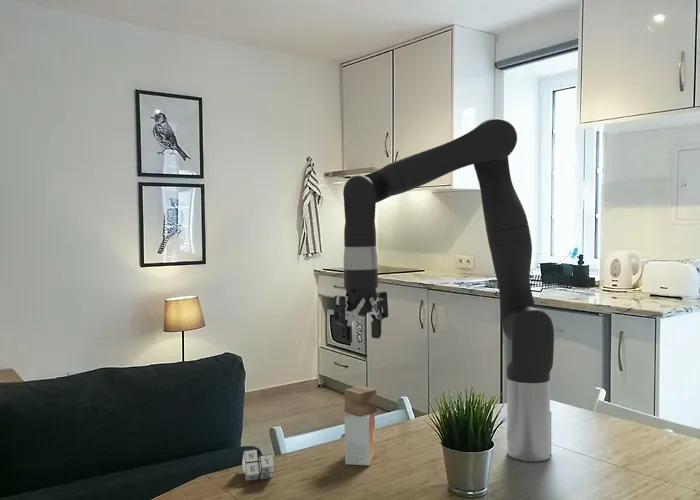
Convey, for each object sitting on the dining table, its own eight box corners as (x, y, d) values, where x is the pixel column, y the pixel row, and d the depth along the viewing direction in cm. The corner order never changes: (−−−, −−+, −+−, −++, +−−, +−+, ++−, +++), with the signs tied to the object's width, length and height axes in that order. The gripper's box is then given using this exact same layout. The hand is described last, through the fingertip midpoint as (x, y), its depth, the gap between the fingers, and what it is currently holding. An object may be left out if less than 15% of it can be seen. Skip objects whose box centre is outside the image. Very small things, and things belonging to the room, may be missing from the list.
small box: (370, 466, 130) (369, 418, 130) (344, 465, 131) (343, 416, 131) (376, 453, 138) (375, 407, 138) (351, 452, 139) (351, 406, 139)
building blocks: (244, 486, 125) (247, 469, 120) (242, 462, 129) (244, 444, 123) (270, 483, 127) (274, 466, 121) (267, 459, 130) (271, 441, 125)
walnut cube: (361, 407, 138) (361, 385, 138) (376, 412, 134) (376, 389, 134) (344, 411, 135) (344, 389, 135) (359, 416, 131) (359, 393, 131)
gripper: (347, 269, 126) (349, 347, 127) (395, 266, 136) (396, 338, 136) (324, 268, 132) (326, 342, 132) (372, 265, 141) (373, 334, 142)
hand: (362, 340), depth 134 cm, fingers open, 8 cm apart
